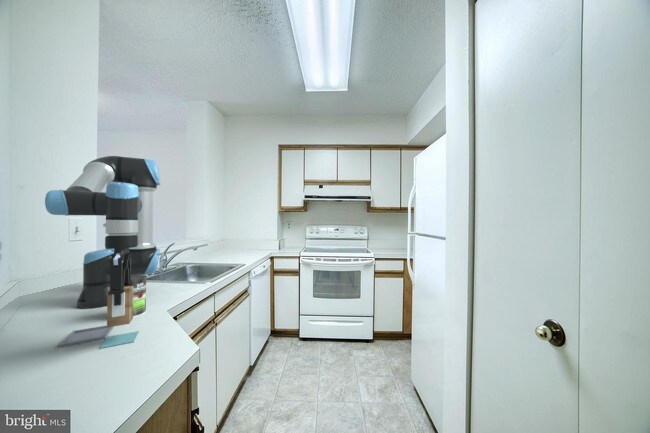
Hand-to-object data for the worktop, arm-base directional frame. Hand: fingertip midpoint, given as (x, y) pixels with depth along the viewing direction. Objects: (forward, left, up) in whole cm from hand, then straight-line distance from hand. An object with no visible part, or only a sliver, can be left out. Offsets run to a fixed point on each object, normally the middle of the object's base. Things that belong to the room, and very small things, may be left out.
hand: (120, 312), depth 72 cm
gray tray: (-8, -9, -8) cm, 15 cm away
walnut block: (0, 0, -3) cm, 3 cm away
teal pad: (0, 0, -8) cm, 8 cm away
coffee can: (-24, -2, -9) cm, 26 cm away
